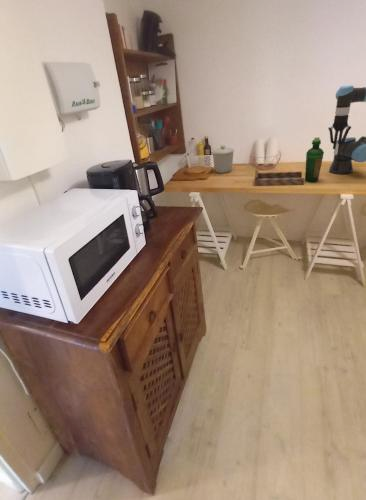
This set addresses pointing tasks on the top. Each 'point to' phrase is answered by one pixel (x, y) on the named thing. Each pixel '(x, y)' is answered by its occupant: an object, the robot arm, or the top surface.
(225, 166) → the canister
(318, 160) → the bottle
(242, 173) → the top surface
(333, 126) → the robot arm
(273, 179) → the u rest
